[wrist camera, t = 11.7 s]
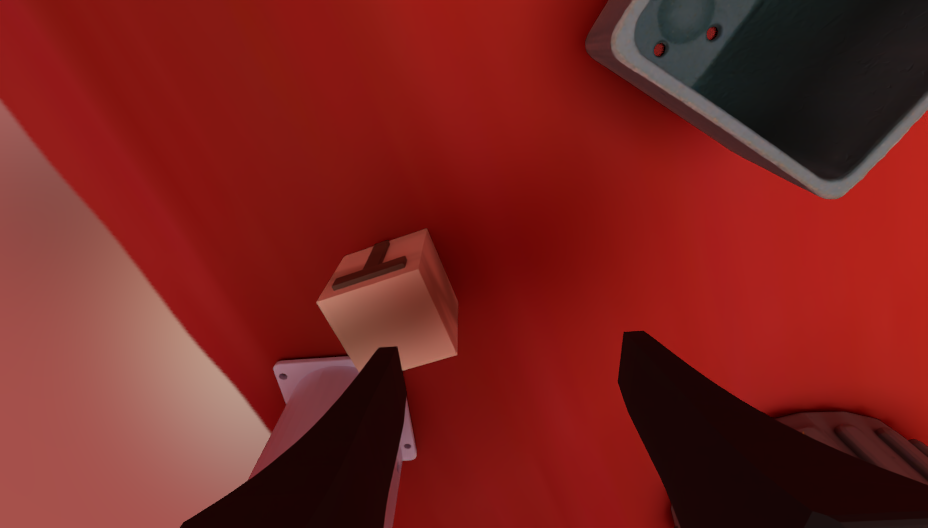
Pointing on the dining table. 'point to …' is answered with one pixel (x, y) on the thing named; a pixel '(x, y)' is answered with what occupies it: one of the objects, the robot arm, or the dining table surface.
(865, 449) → the decorative lamp
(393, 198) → the dining table surface
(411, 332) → the letter cube
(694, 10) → the flower pot
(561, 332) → the dining table surface
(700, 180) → the dining table surface
